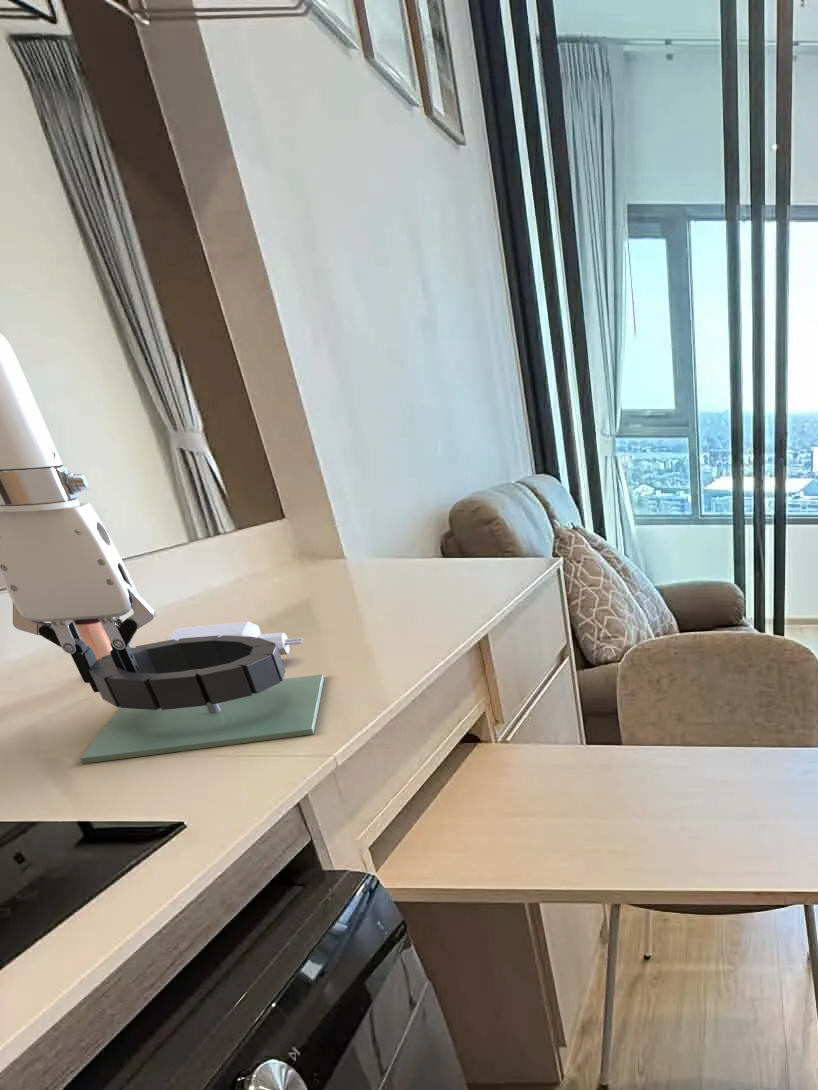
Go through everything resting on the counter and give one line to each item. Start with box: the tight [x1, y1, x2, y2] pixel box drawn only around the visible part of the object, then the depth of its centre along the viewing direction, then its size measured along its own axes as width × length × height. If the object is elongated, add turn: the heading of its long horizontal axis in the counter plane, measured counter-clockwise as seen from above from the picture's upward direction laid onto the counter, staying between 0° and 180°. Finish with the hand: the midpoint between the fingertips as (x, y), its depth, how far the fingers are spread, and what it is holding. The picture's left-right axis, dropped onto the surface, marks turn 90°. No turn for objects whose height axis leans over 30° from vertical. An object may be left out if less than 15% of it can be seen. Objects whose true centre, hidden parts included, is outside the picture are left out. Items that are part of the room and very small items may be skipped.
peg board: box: [79, 674, 325, 765], centre depth 96 cm, size 22×22×4 cm
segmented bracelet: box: [89, 635, 286, 710], centre depth 94 cm, size 18×18×3 cm
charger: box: [166, 621, 304, 671], centre depth 112 cm, size 5×9×15 cm
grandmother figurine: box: [74, 617, 124, 660], centre depth 108 cm, size 8×4×13 cm, turn 148°
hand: (116, 685), depth 92 cm, fingers closed on segmented bracelet, 2 cm apart
